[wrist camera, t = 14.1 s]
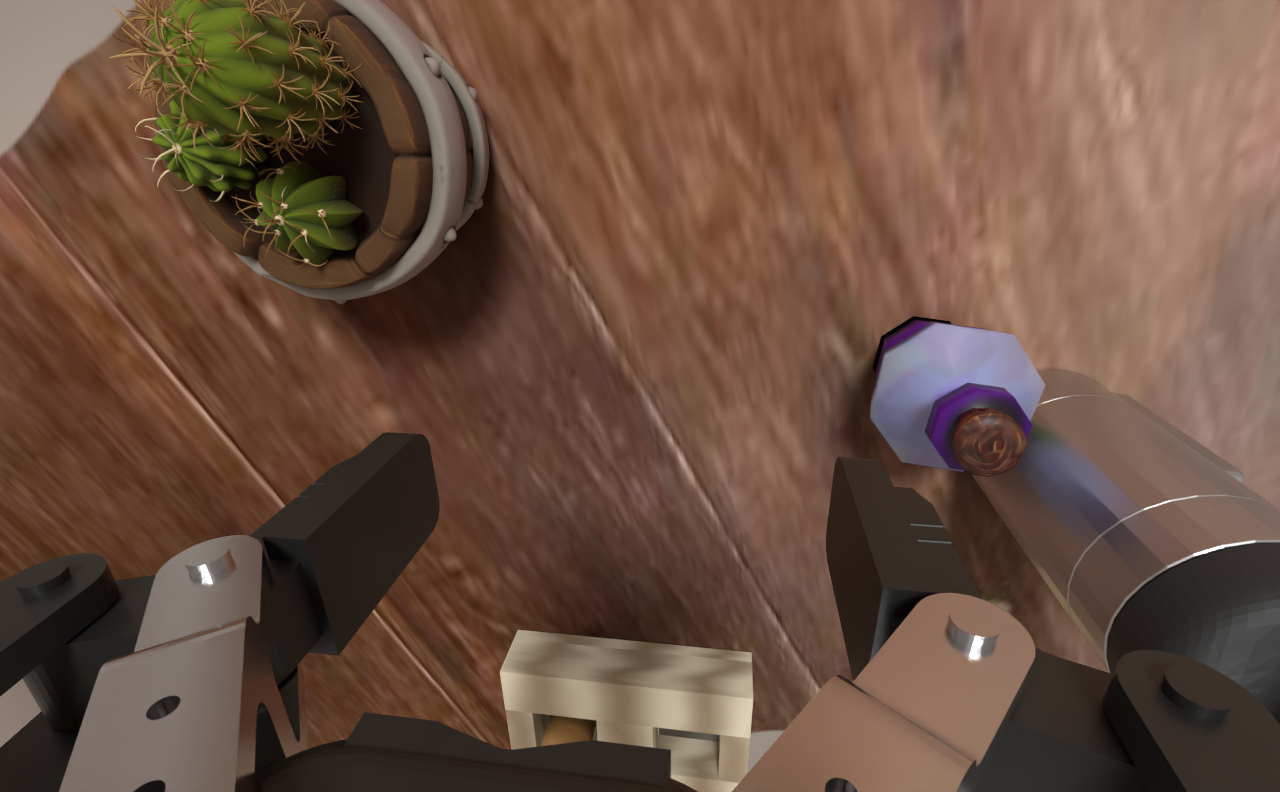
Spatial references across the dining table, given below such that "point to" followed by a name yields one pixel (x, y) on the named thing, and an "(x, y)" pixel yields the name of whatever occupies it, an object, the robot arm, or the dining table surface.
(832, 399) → the dining table surface
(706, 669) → the hole block
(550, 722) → the peg
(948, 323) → the potion bottle
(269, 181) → the flowerpot
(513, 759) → the robot arm
